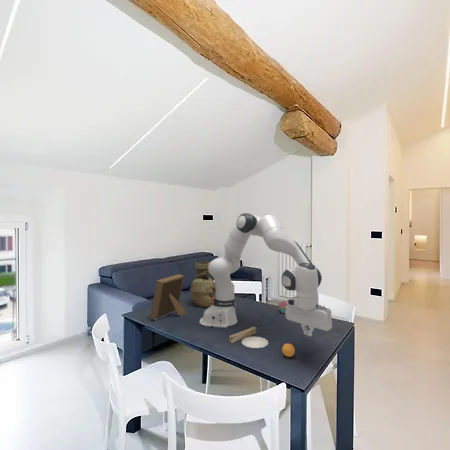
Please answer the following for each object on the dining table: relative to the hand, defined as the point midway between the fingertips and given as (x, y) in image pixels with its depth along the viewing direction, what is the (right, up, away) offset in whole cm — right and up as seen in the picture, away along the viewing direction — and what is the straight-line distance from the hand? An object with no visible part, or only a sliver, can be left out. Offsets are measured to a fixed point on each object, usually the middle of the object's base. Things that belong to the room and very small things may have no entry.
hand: (307, 335), depth 121 cm
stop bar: (-25, -12, +28) cm, 40 cm away
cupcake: (+4, -11, +67) cm, 68 cm away
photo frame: (-69, -12, +61) cm, 93 cm away
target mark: (-20, -12, +22) cm, 32 cm away
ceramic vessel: (-50, -11, +86) cm, 100 cm away
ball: (-7, -10, +7) cm, 14 cm away
